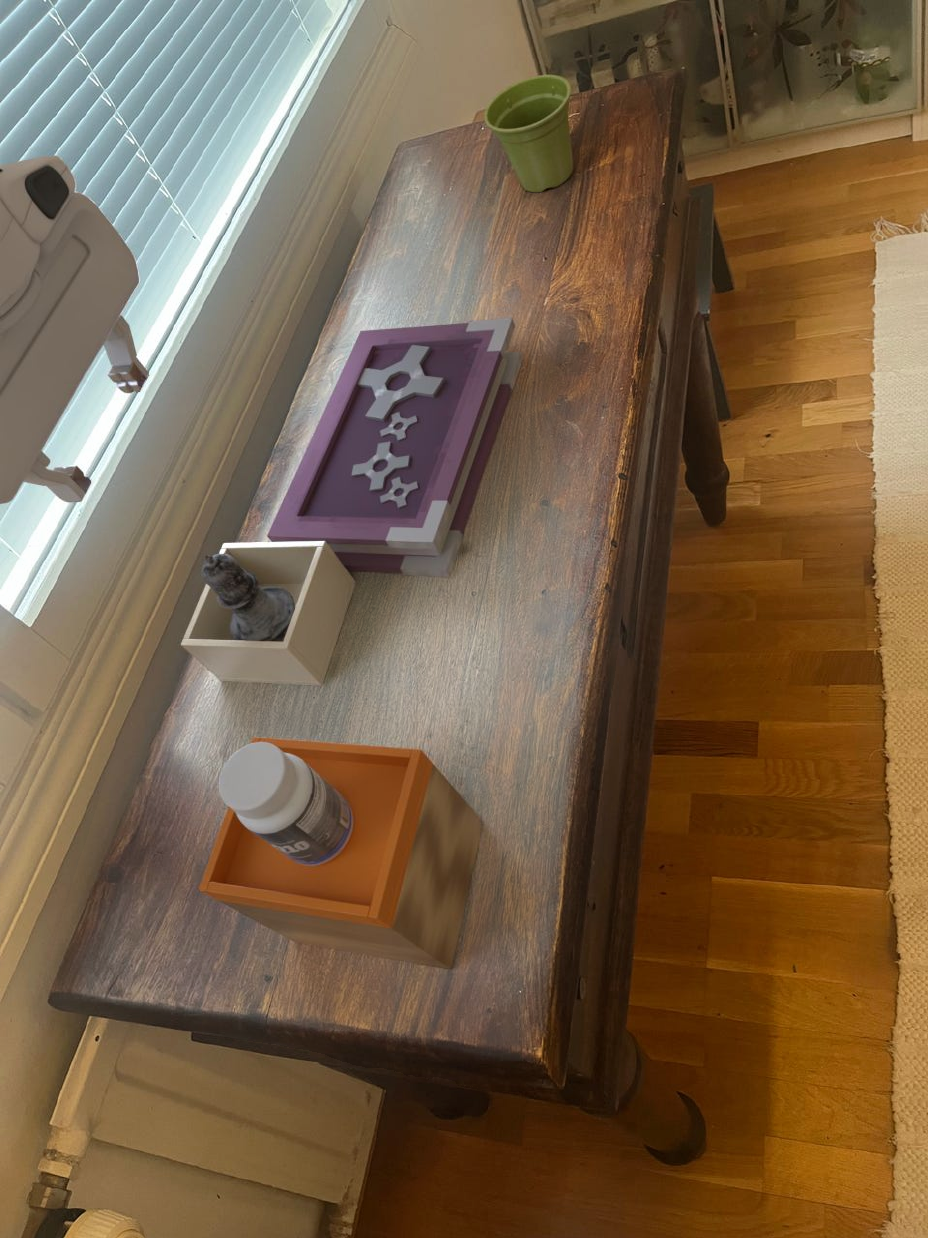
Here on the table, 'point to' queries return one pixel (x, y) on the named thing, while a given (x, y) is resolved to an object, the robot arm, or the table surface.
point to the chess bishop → (248, 600)
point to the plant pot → (535, 130)
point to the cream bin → (311, 630)
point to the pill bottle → (286, 803)
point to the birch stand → (406, 892)
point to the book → (403, 447)
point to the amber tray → (370, 862)
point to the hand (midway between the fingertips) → (109, 437)
